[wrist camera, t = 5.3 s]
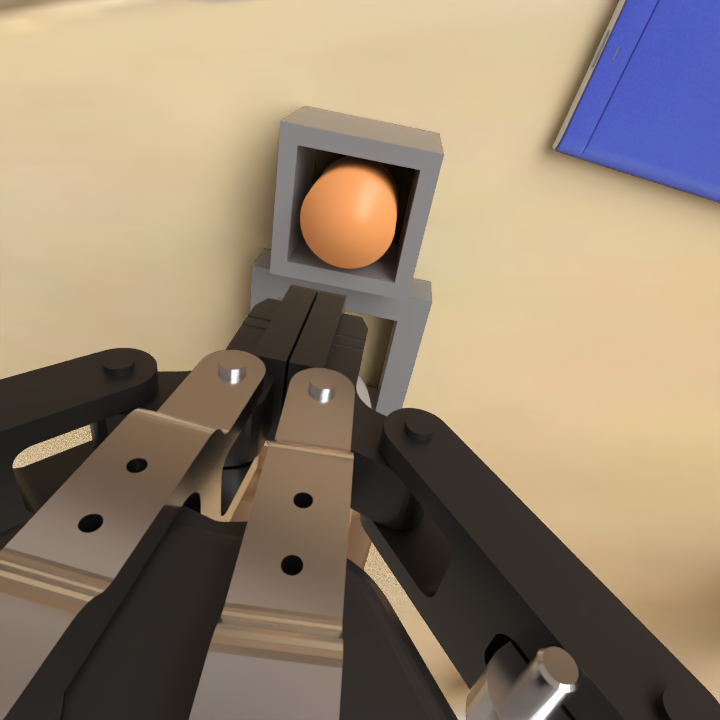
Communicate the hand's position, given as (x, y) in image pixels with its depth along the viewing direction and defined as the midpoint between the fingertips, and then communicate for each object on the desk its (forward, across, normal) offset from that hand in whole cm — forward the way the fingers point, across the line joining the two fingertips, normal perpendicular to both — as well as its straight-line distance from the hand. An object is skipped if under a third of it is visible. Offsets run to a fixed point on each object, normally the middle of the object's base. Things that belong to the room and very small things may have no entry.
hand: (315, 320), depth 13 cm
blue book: (+15, -15, -7) cm, 22 cm away
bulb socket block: (+14, 0, +5) cm, 15 cm away
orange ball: (+12, 0, 0) cm, 12 cm away
